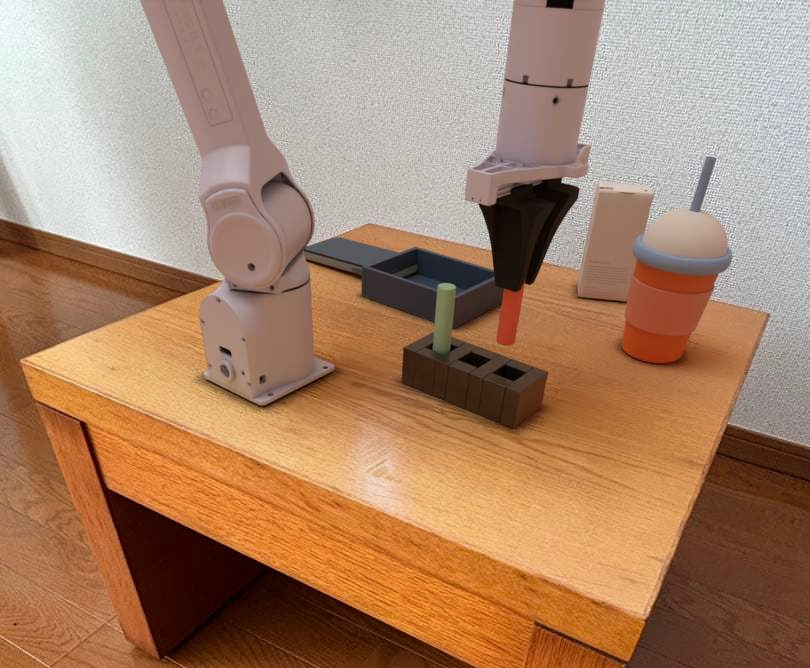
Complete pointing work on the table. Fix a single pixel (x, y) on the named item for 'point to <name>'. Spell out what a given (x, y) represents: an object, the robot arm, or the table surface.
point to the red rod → (509, 316)
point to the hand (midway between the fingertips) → (514, 284)
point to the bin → (431, 284)
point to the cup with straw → (674, 278)
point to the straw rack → (475, 379)
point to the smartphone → (351, 255)
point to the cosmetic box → (613, 239)
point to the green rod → (444, 318)
